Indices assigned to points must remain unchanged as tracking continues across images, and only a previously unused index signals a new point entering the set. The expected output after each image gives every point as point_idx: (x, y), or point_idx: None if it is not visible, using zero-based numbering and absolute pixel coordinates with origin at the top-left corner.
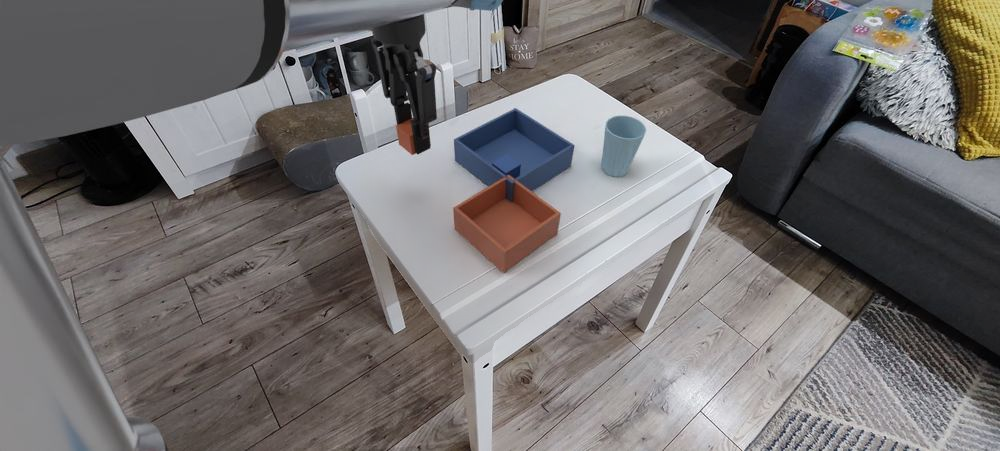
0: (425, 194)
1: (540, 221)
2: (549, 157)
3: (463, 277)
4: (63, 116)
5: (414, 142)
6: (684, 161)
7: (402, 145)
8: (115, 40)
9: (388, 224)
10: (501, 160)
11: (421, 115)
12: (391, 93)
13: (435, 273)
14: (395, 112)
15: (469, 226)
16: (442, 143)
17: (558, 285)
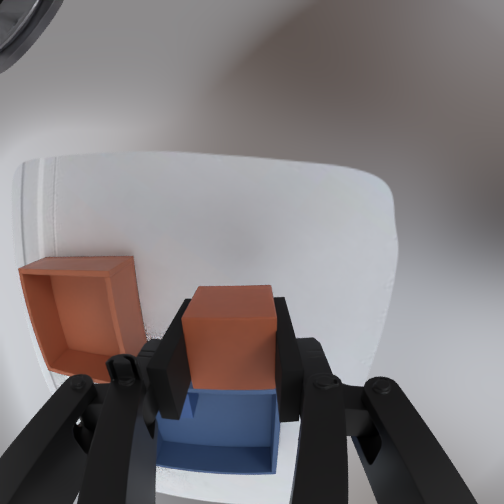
0: (237, 268)
1: (85, 352)
2: (186, 439)
3: (62, 209)
4: None
5: None
6: None
7: (248, 288)
8: None
9: (213, 167)
10: (184, 406)
11: (61, 402)
12: (330, 425)
13: (84, 179)
14: (296, 357)
15: (78, 266)
16: (331, 365)
17: (20, 291)
